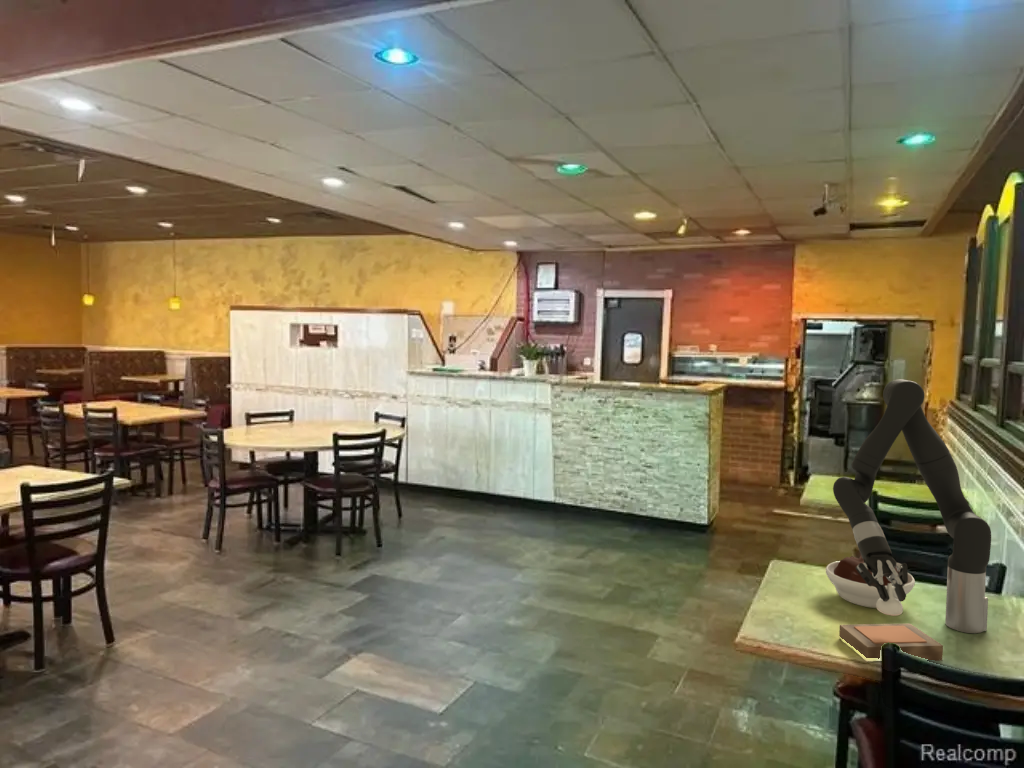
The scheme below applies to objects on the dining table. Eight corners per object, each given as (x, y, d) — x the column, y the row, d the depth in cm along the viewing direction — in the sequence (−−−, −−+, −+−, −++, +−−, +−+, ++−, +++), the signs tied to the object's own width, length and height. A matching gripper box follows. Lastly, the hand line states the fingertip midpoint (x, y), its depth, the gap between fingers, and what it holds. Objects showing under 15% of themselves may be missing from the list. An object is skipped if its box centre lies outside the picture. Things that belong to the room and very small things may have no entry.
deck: (909, 637, 194) (909, 623, 194) (942, 660, 180) (943, 645, 180) (839, 638, 193) (839, 624, 193) (867, 662, 179) (867, 647, 179)
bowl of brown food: (927, 620, 206) (930, 570, 205) (838, 615, 210) (839, 566, 209) (895, 590, 230) (897, 545, 229) (815, 586, 234) (817, 542, 233)
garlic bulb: (899, 610, 188) (899, 581, 188) (905, 617, 182) (906, 587, 182) (873, 608, 190) (874, 578, 190) (879, 615, 184) (880, 584, 184)
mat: (903, 626, 192) (903, 625, 192) (926, 642, 182) (926, 641, 182) (854, 627, 191) (854, 626, 191) (874, 643, 181) (874, 642, 181)
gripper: (852, 535, 192) (874, 594, 181) (902, 534, 192) (927, 594, 181) (841, 547, 197) (862, 606, 186) (889, 547, 198) (914, 605, 187)
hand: (894, 599), depth 184 cm, fingers closed on garlic bulb, 3 cm apart
